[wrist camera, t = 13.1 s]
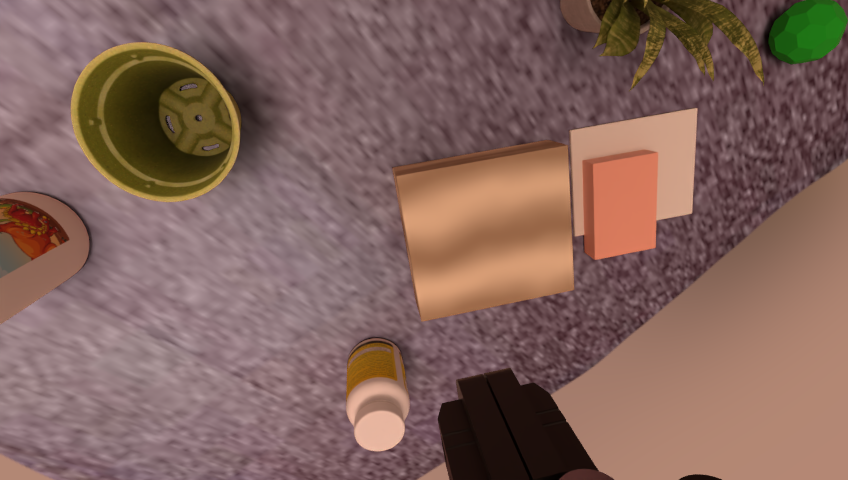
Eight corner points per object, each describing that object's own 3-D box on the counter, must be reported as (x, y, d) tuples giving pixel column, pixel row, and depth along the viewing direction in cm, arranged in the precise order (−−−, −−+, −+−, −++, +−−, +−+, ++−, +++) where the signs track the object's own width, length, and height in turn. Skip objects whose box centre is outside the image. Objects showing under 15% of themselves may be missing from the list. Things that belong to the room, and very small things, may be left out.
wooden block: (392, 167, 39) (396, 176, 35) (547, 139, 40) (567, 145, 36) (415, 301, 43) (421, 321, 40) (555, 272, 45) (574, 289, 41)
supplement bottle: (335, 359, 44) (330, 430, 35) (378, 326, 44) (385, 389, 35) (371, 393, 46) (375, 469, 37) (413, 361, 46) (427, 431, 36)
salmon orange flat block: (658, 152, 40) (644, 149, 42) (593, 163, 39) (582, 160, 41) (655, 247, 43) (642, 241, 45) (594, 259, 42) (584, 252, 44)
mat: (569, 130, 40) (570, 130, 40) (694, 107, 41) (697, 108, 41) (573, 235, 44) (575, 236, 43) (689, 212, 45) (691, 213, 44)
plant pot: (238, 39, 34) (202, 24, 26) (281, 160, 38) (260, 180, 29) (114, 69, 34) (38, 64, 26) (168, 189, 37) (116, 219, 29)
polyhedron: (809, 51, 41) (864, 47, 37) (759, 74, 41) (808, 72, 37) (803, -6, 39) (860, -18, 35) (752, 17, 39) (802, 9, 35)
